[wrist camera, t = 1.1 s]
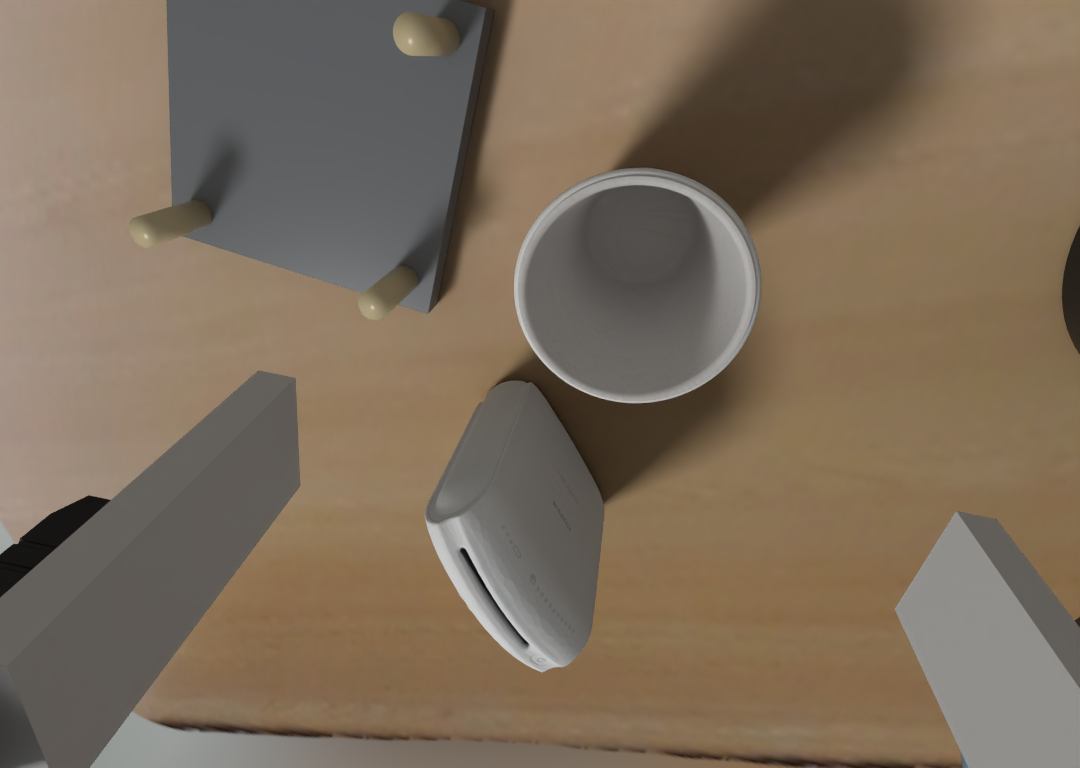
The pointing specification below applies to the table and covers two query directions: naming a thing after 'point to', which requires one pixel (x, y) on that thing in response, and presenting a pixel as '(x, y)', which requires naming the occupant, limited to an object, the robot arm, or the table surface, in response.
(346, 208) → the plate
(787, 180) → the table surface
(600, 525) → the photo printer
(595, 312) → the dixie cup
